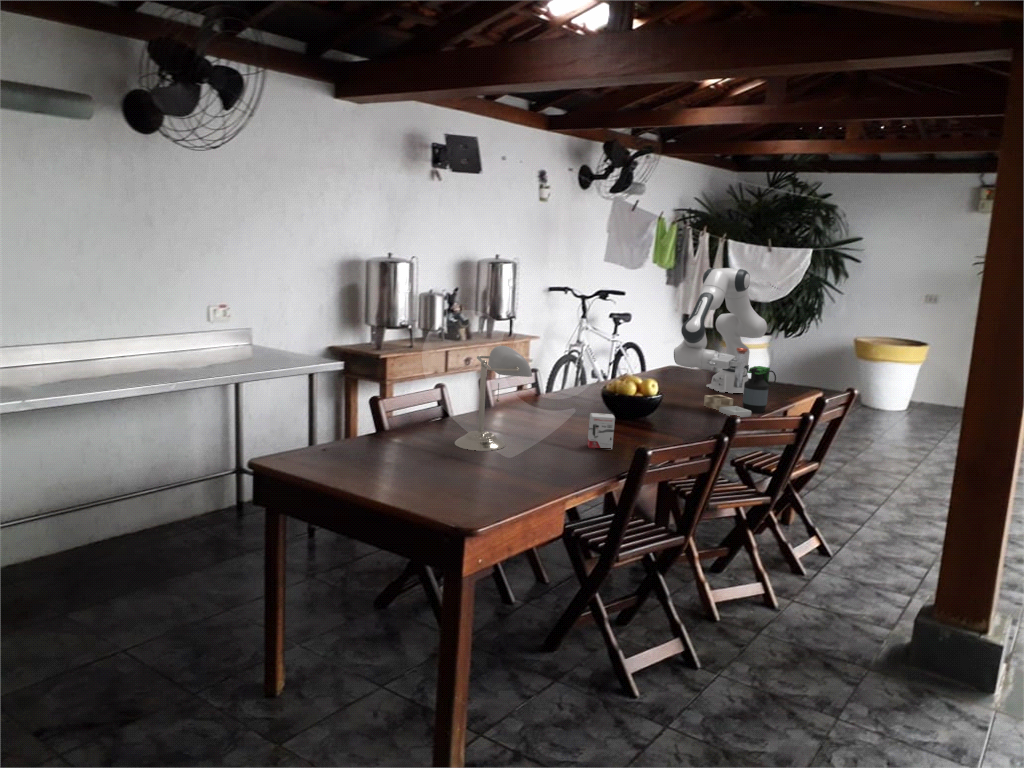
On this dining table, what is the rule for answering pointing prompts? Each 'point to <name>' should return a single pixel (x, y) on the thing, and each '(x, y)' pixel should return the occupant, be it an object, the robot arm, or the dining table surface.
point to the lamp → (505, 365)
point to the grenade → (757, 389)
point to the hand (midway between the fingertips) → (742, 363)
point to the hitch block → (717, 401)
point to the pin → (740, 370)
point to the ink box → (601, 430)
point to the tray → (735, 411)
